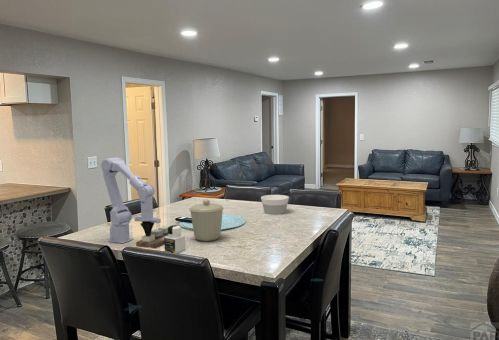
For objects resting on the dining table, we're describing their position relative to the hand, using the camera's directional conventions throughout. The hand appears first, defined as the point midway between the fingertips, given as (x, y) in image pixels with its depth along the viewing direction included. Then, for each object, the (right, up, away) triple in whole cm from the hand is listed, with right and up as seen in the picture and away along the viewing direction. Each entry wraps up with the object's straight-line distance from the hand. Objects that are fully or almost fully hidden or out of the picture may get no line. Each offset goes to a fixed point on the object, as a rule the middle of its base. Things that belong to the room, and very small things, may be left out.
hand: (148, 236), depth 197 cm
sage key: (+5, -1, +13) cm, 14 cm away
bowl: (+69, +4, +70) cm, 98 cm away
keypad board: (+4, -4, +6) cm, 8 cm away
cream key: (0, -3, 0) cm, 3 cm away
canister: (+29, -3, +9) cm, 31 cm away
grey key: (+3, -2, +7) cm, 7 cm away
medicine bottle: (+16, -5, -10) cm, 19 cm away
